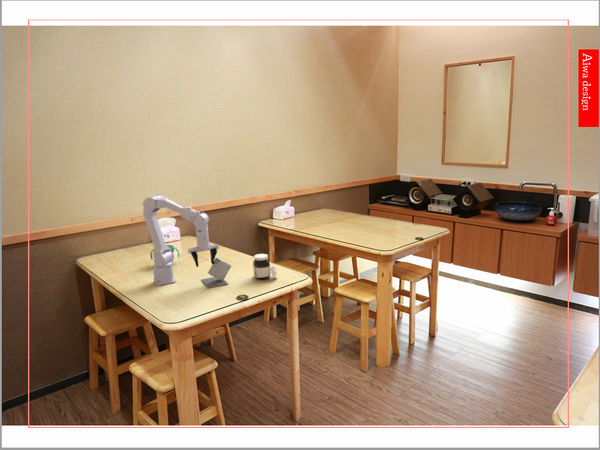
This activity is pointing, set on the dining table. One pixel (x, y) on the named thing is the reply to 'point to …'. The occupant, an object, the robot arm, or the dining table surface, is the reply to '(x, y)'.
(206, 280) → the mat
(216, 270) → the medicine box
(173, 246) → the snack cup
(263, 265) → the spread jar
